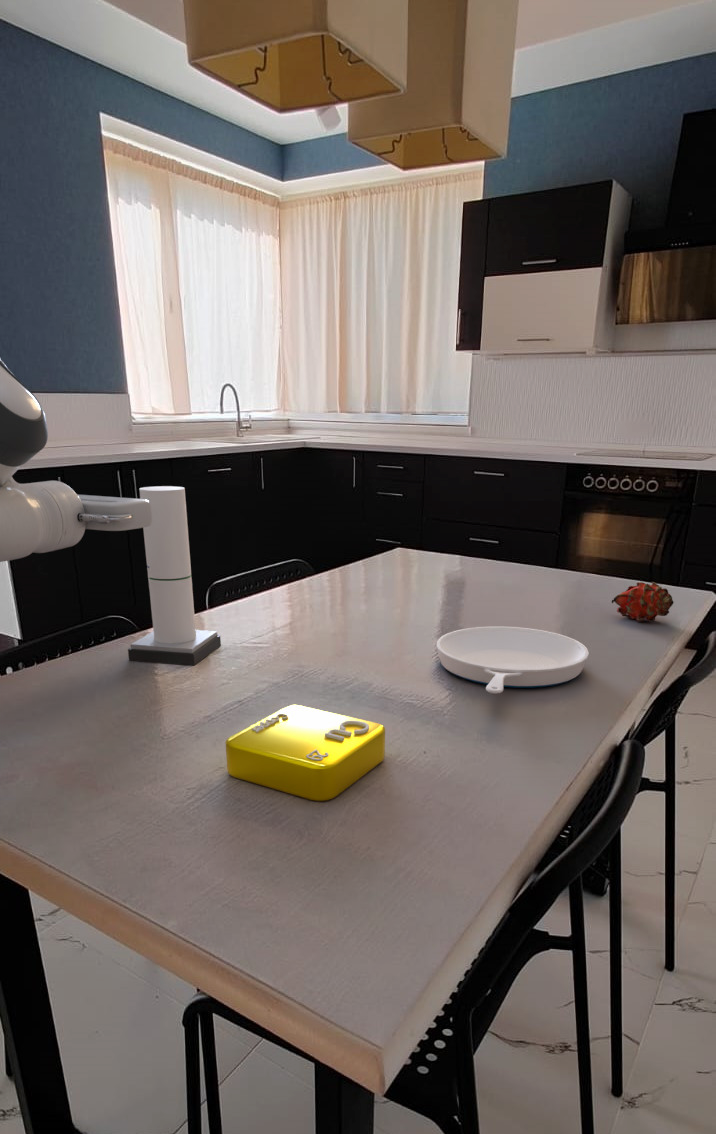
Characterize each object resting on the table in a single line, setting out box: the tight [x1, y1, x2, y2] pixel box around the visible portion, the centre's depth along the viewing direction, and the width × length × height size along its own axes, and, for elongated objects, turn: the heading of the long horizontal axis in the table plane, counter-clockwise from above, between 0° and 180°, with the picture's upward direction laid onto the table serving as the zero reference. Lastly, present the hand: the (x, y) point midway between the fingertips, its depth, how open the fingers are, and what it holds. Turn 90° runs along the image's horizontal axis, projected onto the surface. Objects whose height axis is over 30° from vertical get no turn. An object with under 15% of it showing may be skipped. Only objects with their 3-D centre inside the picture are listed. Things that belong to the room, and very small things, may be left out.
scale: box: [127, 629, 222, 666], centre depth 135 cm, size 12×12×3 cm
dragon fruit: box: [611, 581, 675, 623], centre depth 158 cm, size 8×8×12 cm
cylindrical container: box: [138, 485, 197, 643], centre depth 130 cm, size 7×7×25 cm
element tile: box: [224, 704, 386, 802], centre depth 93 cm, size 15×15×5 cm
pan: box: [435, 625, 590, 694], centre depth 123 cm, size 25×38×5 cm, turn 164°
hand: (116, 504), depth 115 cm, fingers open, 8 cm apart
